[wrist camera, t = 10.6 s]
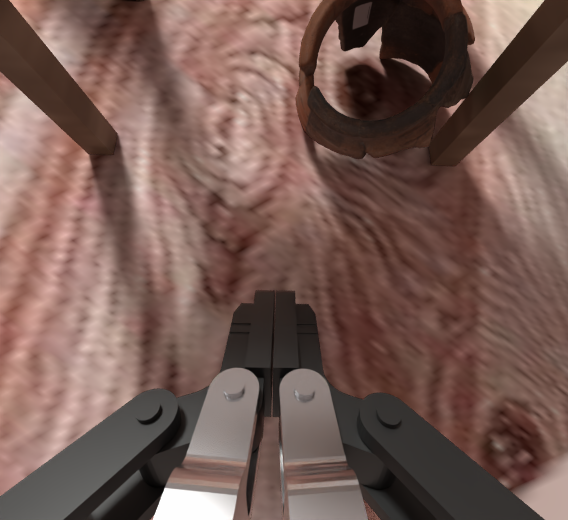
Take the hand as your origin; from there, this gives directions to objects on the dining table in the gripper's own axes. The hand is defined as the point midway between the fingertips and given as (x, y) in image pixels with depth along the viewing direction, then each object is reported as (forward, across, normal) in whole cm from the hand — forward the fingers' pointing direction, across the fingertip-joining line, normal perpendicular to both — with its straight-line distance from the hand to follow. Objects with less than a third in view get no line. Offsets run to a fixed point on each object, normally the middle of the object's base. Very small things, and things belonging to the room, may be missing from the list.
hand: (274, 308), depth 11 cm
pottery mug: (+13, -6, -7) cm, 16 cm away
